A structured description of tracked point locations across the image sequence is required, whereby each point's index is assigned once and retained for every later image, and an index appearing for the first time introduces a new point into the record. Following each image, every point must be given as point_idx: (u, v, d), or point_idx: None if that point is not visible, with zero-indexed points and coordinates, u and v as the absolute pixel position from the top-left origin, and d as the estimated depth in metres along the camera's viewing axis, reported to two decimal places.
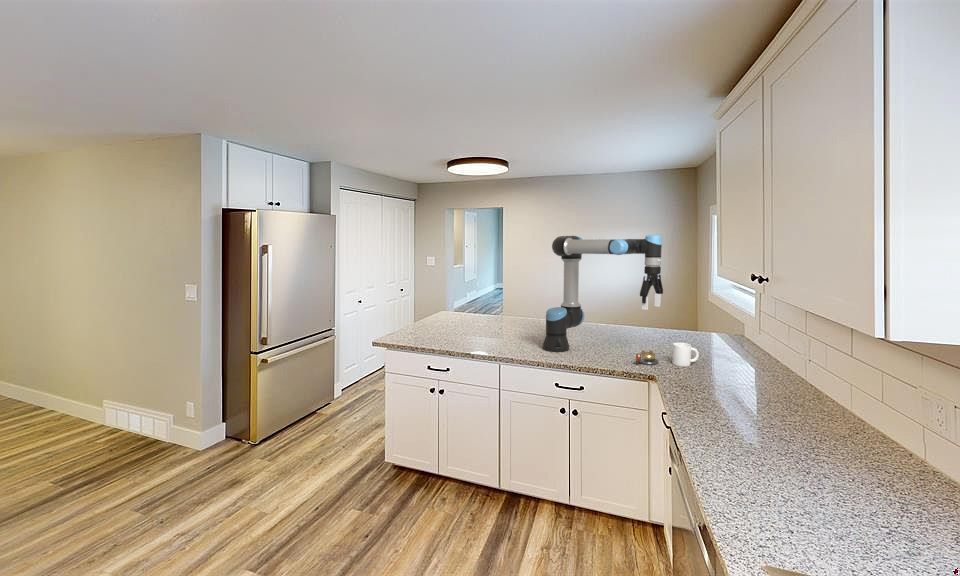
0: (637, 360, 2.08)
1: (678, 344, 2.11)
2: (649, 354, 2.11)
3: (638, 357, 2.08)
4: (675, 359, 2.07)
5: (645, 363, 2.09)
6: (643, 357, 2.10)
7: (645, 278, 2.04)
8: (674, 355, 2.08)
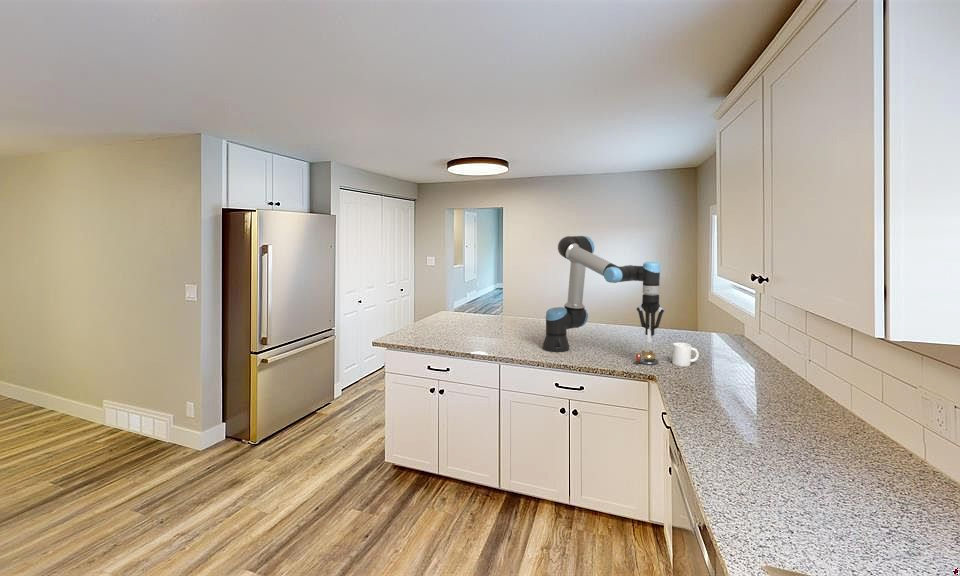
0: (637, 360, 2.08)
1: (678, 344, 2.11)
2: (649, 354, 2.11)
3: (638, 357, 2.08)
4: (675, 359, 2.07)
5: (645, 363, 2.09)
6: (643, 357, 2.10)
7: None
8: (674, 355, 2.08)
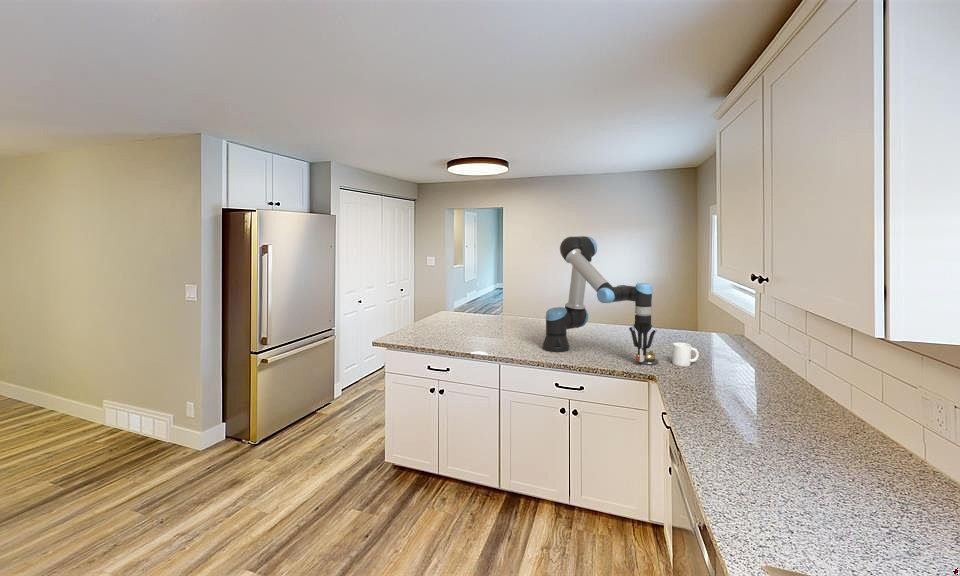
0: (637, 360, 2.09)
1: (678, 344, 2.11)
2: (649, 354, 2.11)
3: (638, 357, 2.08)
4: (675, 359, 2.07)
5: (645, 363, 2.09)
6: None
7: None
8: (674, 355, 2.08)
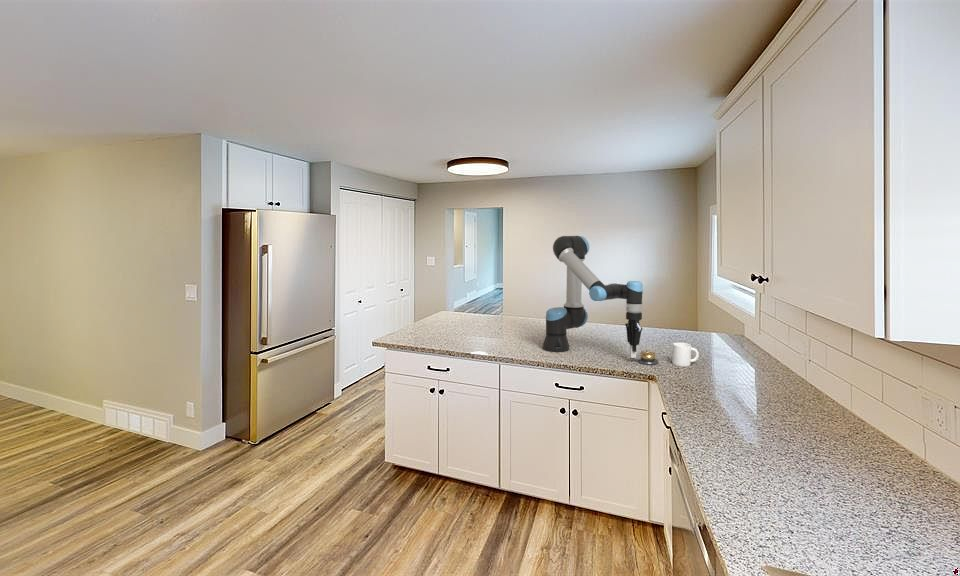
0: None
1: (678, 345, 2.11)
2: (647, 354, 2.12)
3: None
4: (675, 359, 2.07)
5: (645, 363, 2.09)
6: (638, 355, 2.13)
7: None
8: (674, 355, 2.08)
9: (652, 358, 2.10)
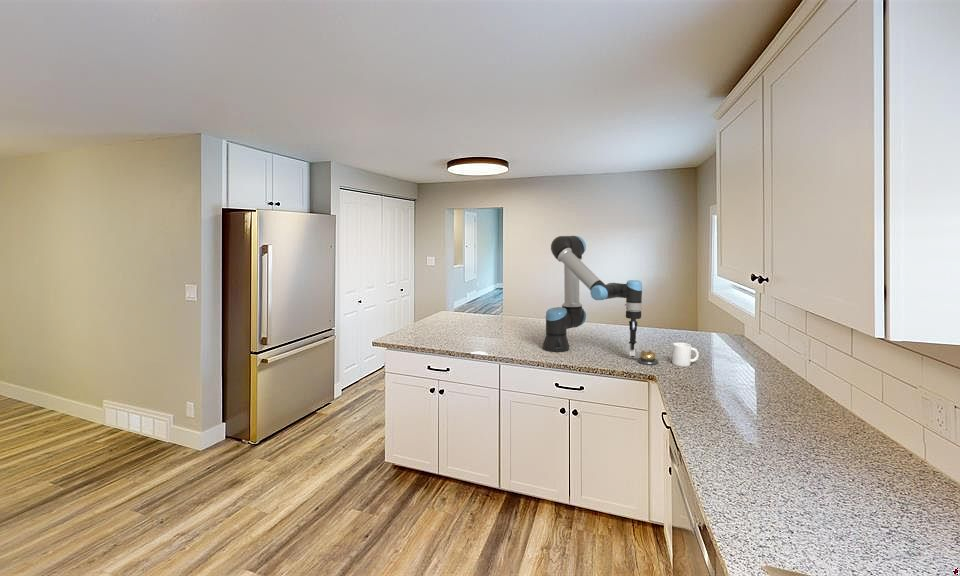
0: None
1: (678, 344, 2.11)
2: None
3: None
4: (675, 359, 2.07)
5: (645, 363, 2.09)
6: (638, 354, 2.16)
7: None
8: (674, 355, 2.08)
9: (648, 358, 2.10)
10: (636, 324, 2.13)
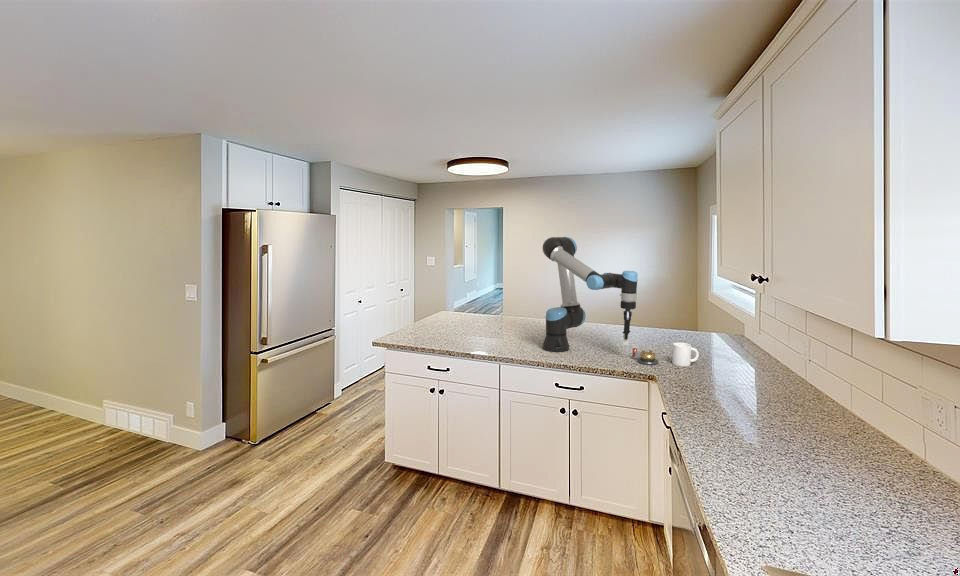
0: None
1: (678, 344, 2.11)
2: None
3: None
4: (675, 359, 2.07)
5: (645, 363, 2.09)
6: (638, 354, 2.16)
7: None
8: (674, 355, 2.08)
9: (647, 358, 2.10)
10: (630, 314, 2.16)
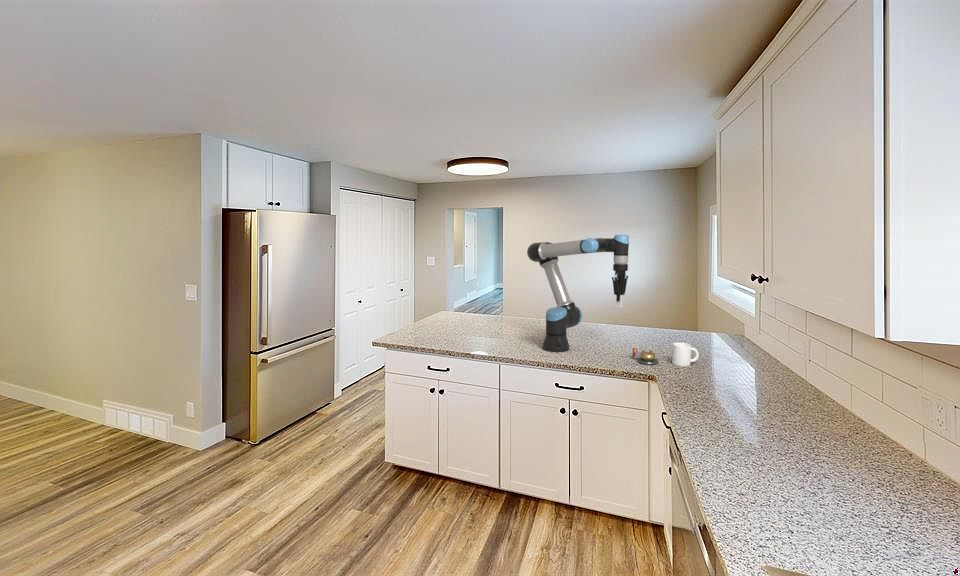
0: None
1: (678, 344, 2.11)
2: None
3: None
4: (675, 359, 2.07)
5: (645, 363, 2.09)
6: (638, 354, 2.16)
7: None
8: (674, 355, 2.08)
9: (647, 358, 2.10)
10: (620, 276, 2.22)
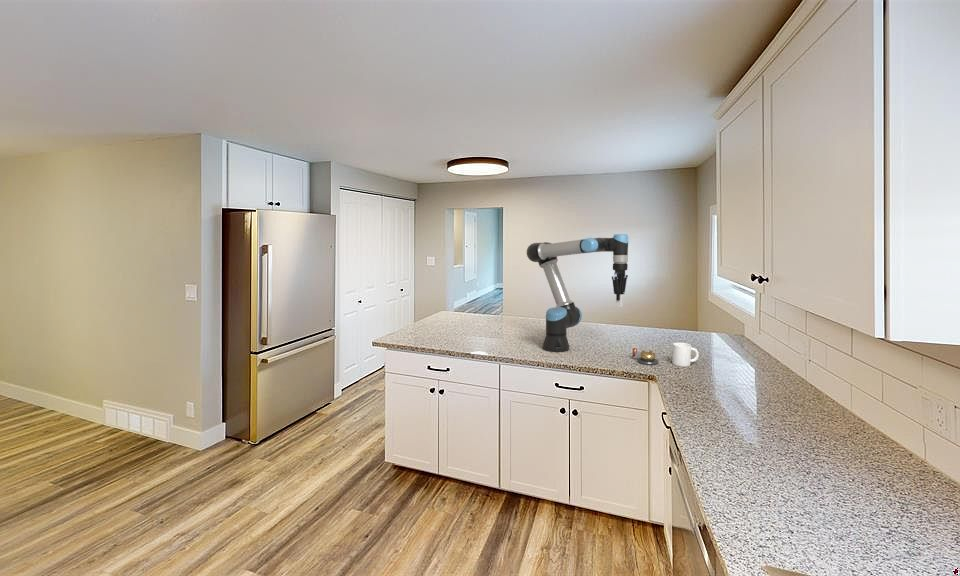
0: None
1: (678, 344, 2.11)
2: None
3: None
4: (675, 359, 2.07)
5: (645, 363, 2.09)
6: (638, 354, 2.16)
7: None
8: (674, 355, 2.08)
9: (647, 358, 2.10)
10: (620, 276, 2.23)
